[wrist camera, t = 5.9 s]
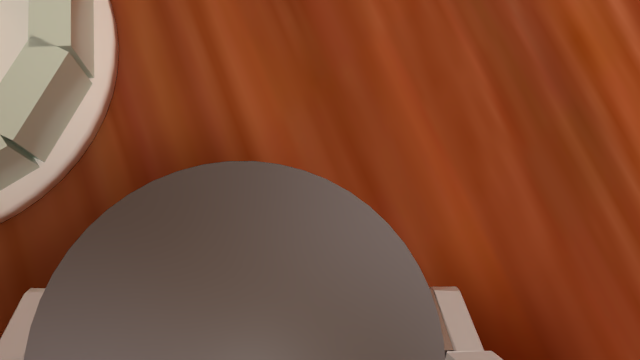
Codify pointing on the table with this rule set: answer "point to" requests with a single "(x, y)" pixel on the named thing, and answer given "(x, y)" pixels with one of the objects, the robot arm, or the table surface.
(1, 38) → the ceramic dish
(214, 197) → the spice jar
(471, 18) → the table surface
